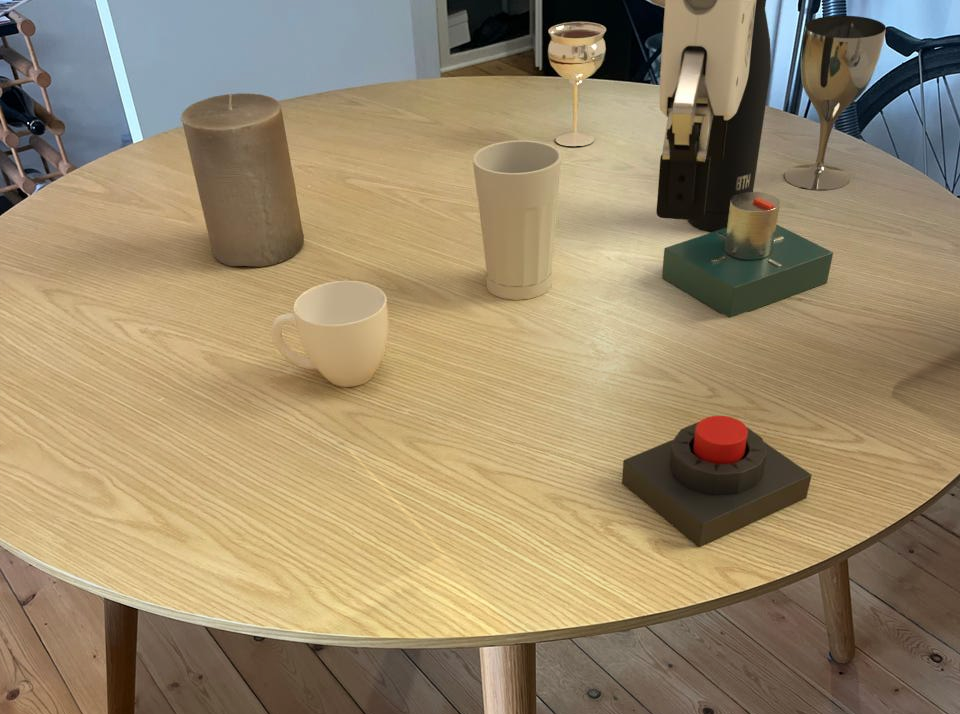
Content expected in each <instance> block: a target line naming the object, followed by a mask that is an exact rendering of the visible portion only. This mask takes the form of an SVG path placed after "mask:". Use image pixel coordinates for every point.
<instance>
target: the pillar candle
mask: <svg viewBox="0 0 960 714" xmlns="http://www.w3.org/2000/svg"><path fill="white" fill-rule="evenodd" d="M180 121H181V123H182V125H183V126H182V127H183V131H184V135H185V138H186V143H187V149H188V152H189V156H190V162H191V166H192V169H193V174H194V178H195V183H196V187H197V192H198V196H199V201H200V205H201V209H202V213H203V217H204V222H205V226H206V231H207V235H208V239H209V243H210V248H211V252H212V255H213V257H214V259H216V260H217V262H219V263H222V264H224V265H225V266H230V267H255V268H258V267H260V268H261V267H267V266H269V267H270V266H272V265H276V264H279V263H282V262H285V261H287V260H289V259H291V258H293V257H294V256H295V255H297V254H298V253H299V252H300V251H301V249H302V248H303V245H304V242H305V240H304V239H305V238H304V237H305V235H304V232H303V226H302V220H301V213H300V208H299V202H298V196H297V189H296V184H295V178H294V173H293V167H292V162H291V155H290V150H289V149H290V148H289V144H288V139H287V133H286V128H285V121H284V116H283V110H282V105H281V104H280V102H279V101H278V100H277V99H276V98H274V97H272V96H269V95H264V94H261V93H260V94H259V93H239V92H238V93H229V94H228V93H227V94H222V95H215V96H212V97H207V98H205V99H201V100H199V101H196V102H194V103H192V104H190V105H189V106H188V107H186V108H185V109H184V110H183V111H182V113H181V117H180Z"/></svg>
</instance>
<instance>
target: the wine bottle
mask: <svg viewBox="0 0 960 714" xmlns="http://www.w3.org/2000/svg"><path fill="white" fill-rule="evenodd" d="M766 4H767V0H756V8H755V16H754V25H753V34H752V44H751V54H750V65H749V74H748V80H747V83H746V87H745V90H744V93H743V96H742V99H741V102H740V105H739V107H738V110H737V112H736V114H735V115H734V116H733V117H732V118H731V119H729V120H728V121H727V130H726V138H725V147H724V156H723V160H722V162H721V163H720V164H719V165H710V169H709V178H708V187H707V197H706V206H705V213H704V216H703V218H702V219H701V220H698V221H697V220H687V221H688V223H689V224H690V225H691V226H693V227H695V228H697V229H699V230H702V231H707V232H714V231H717V230H720V229H724V228H727V224H728V217H729V209H730V202H731V199H732V197H734V196H735V195H737V194H740V193H745V192H754V188H755V182H756V176H757V175H756V174H757V170H758V169H757V168H758V162H759V153H760V147H761V142H762V141H761V140H762V133H763V126H764V122H765V121H764V119H765V112H766V107H767V99H768V91H769V86H770V79H771V71H772V53H771V52H772V49H771V37H770V29H769V24H768V18H767V11H766Z"/></svg>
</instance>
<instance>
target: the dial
mask: <svg viewBox="0 0 960 714" xmlns="http://www.w3.org/2000/svg"><path fill="white" fill-rule="evenodd" d="M780 201H781V200H780V199H779V198H778V197H776V196H775V195H773V194H769V193H767V192H760V191H753V192H745V193H740V194H737V195H735V196H734V197H732V199H731V202H730V209H729V217H728V224H727V232H726V239H725V247H724V249H725V252H726V253H727V254H729V255H730V256H732V257H735V258H738V259H744V260H756V259H762V258H765V257H767V256H769V255H770V254H771V252H772V248H773V242H774V236H775V230H776V224H777V225H778V218H779V213H780V206H781V202H780Z"/></svg>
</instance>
